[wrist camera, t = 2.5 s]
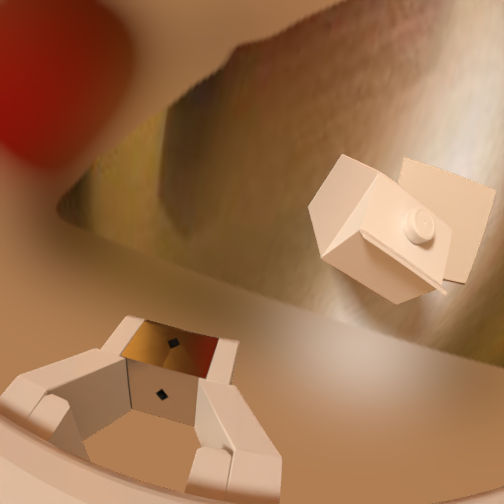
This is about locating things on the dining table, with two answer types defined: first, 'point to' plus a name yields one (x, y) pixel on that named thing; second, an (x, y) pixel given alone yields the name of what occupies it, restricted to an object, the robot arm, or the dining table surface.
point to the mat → (451, 210)
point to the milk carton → (379, 232)
